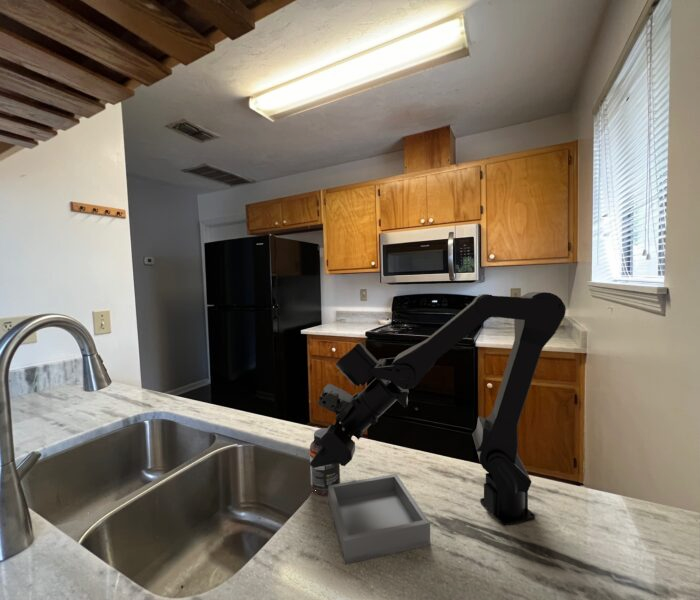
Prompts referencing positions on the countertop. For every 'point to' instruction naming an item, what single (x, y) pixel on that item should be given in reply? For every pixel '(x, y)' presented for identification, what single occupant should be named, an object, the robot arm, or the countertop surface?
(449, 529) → the countertop surface
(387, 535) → the tray
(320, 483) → the supplement bottle
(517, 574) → the countertop surface
